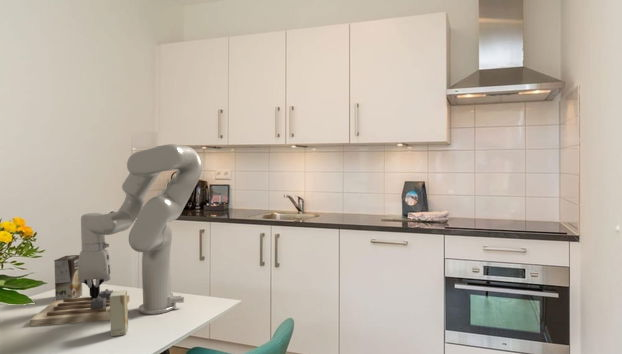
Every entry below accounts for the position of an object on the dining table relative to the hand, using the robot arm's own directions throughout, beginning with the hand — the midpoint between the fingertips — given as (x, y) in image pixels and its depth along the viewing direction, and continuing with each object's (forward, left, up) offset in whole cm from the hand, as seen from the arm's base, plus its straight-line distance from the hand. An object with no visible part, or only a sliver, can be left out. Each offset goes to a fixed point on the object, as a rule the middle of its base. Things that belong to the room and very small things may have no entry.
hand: (94, 297), depth 156 cm
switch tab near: (-4, +9, -1) cm, 10 cm away
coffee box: (+13, -14, -4) cm, 20 cm away
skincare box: (-15, +27, -4) cm, 31 cm away
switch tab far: (-4, 0, -1) cm, 4 cm away
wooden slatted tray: (+2, +5, -4) cm, 7 cm away
